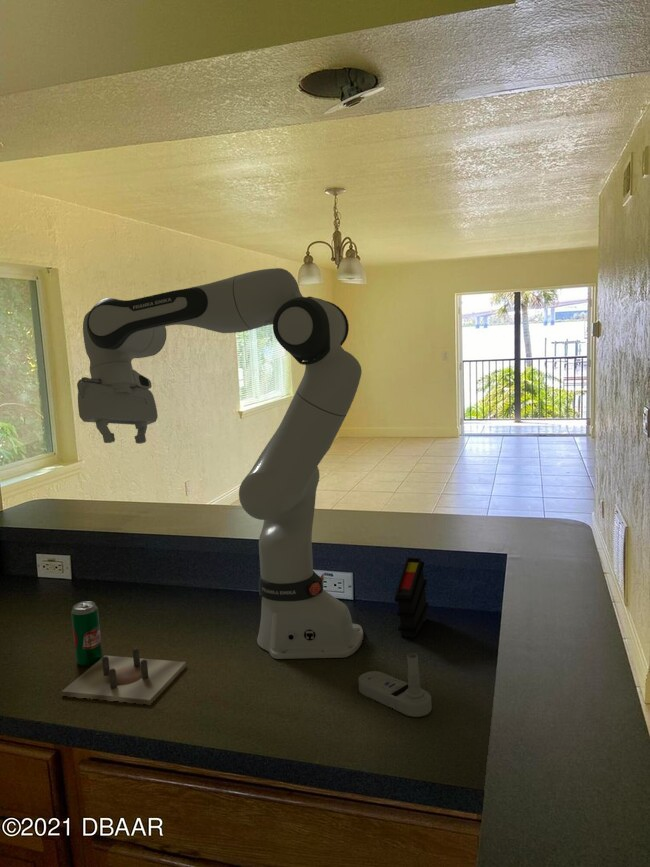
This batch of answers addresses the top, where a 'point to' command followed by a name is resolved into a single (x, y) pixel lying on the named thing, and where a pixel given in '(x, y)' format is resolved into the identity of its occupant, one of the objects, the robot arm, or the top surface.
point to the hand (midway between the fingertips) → (126, 442)
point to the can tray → (125, 679)
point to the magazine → (411, 597)
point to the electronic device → (398, 690)
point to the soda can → (86, 633)
